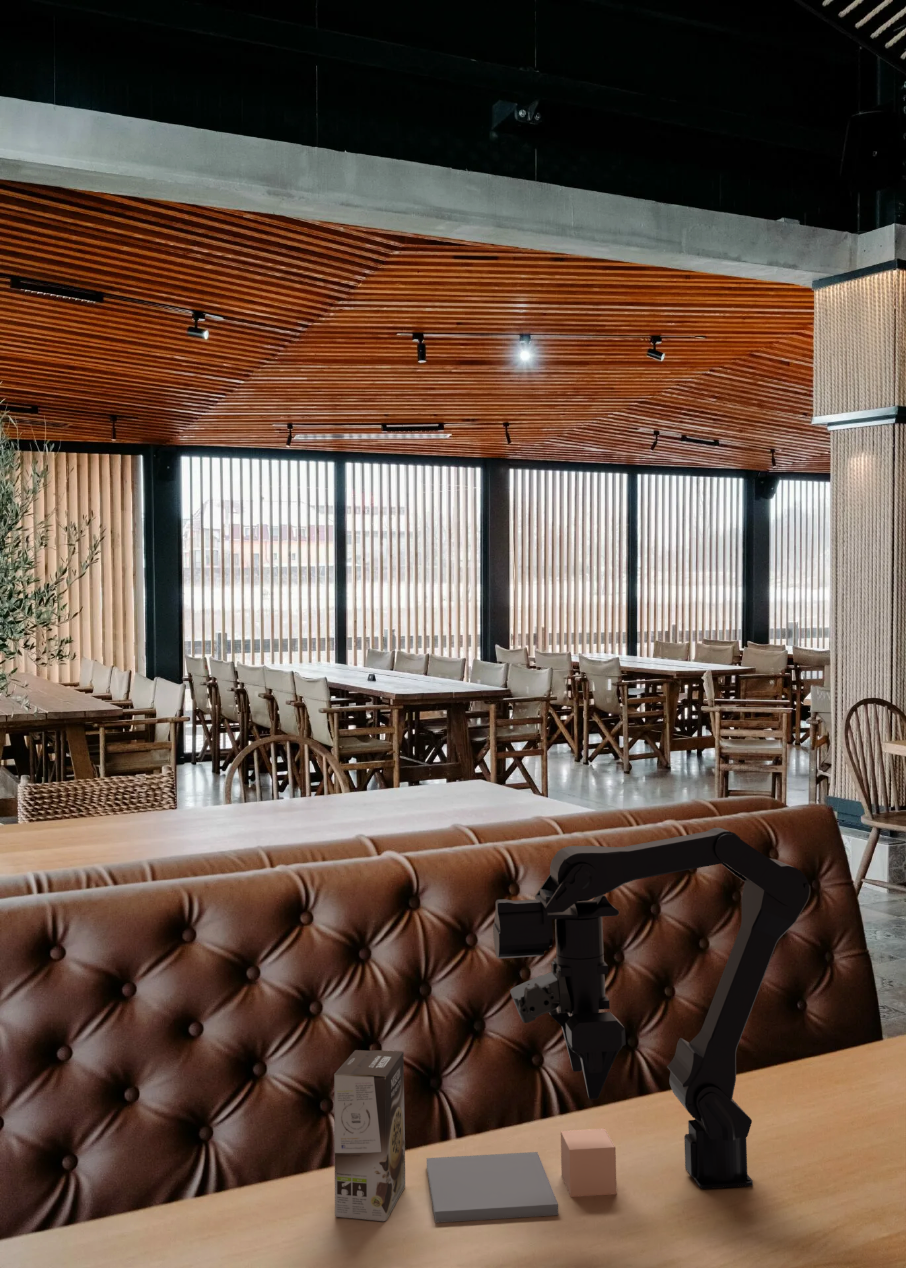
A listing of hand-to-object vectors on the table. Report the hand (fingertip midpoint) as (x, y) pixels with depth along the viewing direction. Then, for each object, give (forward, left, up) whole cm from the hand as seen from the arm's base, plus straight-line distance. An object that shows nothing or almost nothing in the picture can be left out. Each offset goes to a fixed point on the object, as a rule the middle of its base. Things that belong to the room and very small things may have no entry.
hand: (585, 1084), depth 131 cm
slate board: (+12, 0, -12) cm, 17 cm away
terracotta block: (0, 0, -12) cm, 12 cm away
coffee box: (+26, +1, -12) cm, 28 cm away
